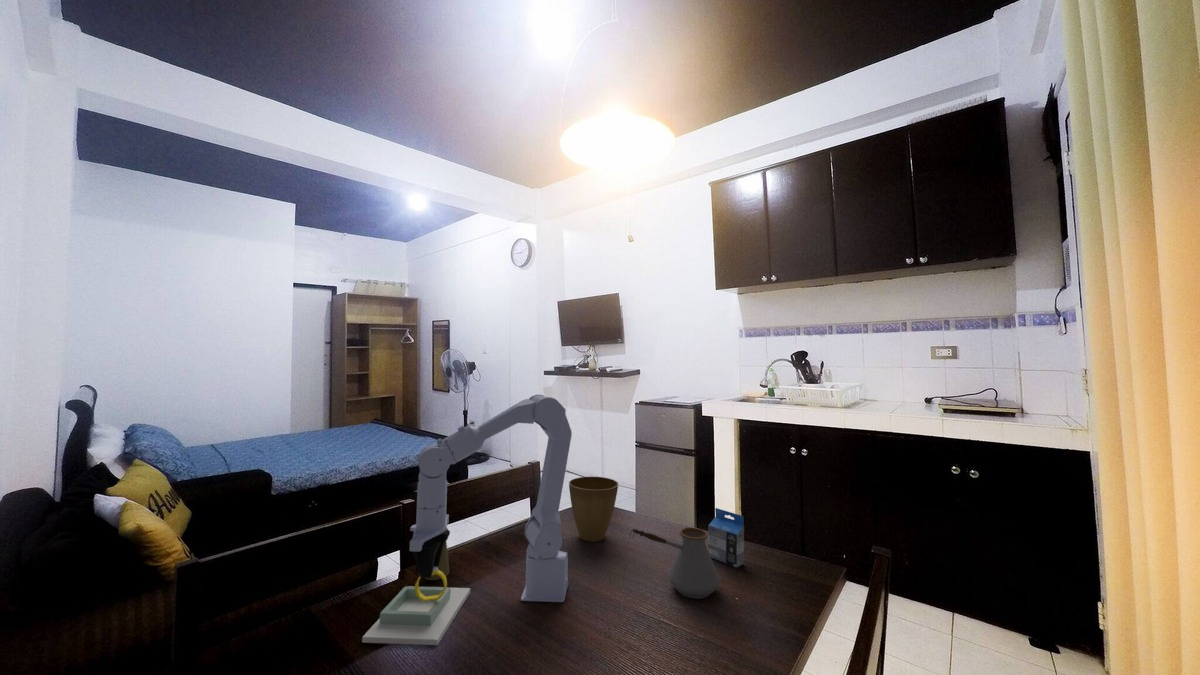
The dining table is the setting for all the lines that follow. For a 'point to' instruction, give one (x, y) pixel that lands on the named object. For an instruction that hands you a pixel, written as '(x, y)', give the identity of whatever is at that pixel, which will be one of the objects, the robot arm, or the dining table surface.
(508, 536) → the dining table surface
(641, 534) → the coffee pot
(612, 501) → the plant pot
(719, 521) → the label tape box
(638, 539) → the dining table surface
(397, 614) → the pocket plate
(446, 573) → the olive pawn shaped peg
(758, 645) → the dining table surface
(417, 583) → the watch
